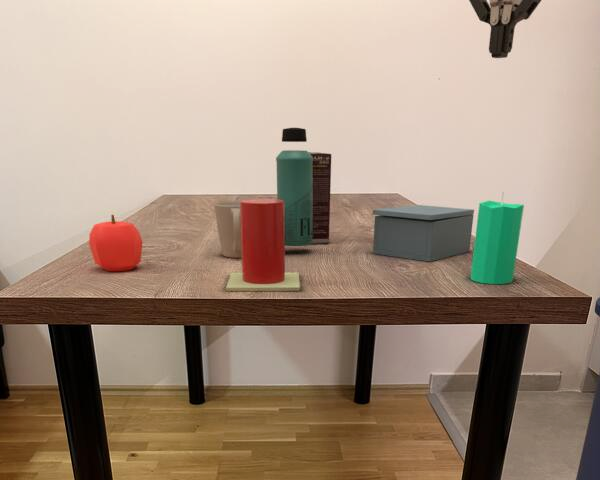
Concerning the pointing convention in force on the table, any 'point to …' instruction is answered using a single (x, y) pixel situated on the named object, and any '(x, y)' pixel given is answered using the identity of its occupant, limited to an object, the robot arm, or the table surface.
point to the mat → (287, 285)
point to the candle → (496, 242)
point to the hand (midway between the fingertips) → (499, 57)
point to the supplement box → (321, 196)
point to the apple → (115, 245)
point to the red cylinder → (262, 240)
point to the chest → (422, 237)
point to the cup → (229, 228)
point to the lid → (423, 212)
